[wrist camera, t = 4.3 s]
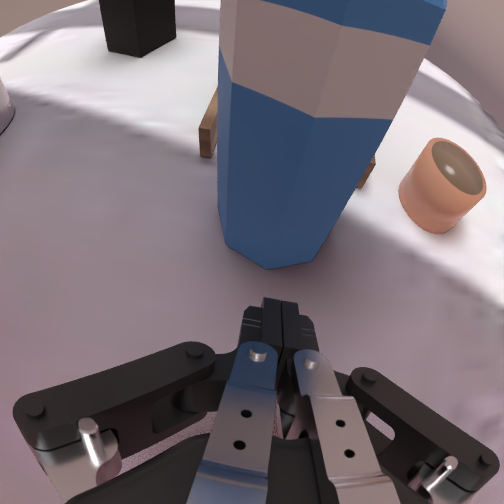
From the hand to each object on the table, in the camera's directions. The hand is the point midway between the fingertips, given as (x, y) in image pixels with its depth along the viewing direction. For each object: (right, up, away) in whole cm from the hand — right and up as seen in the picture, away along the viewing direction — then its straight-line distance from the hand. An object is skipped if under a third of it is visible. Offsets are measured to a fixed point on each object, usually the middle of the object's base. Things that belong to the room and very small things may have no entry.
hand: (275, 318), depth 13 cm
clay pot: (+17, +8, +14) cm, 23 cm away
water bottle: (+1, +6, +12) cm, 13 cm away
